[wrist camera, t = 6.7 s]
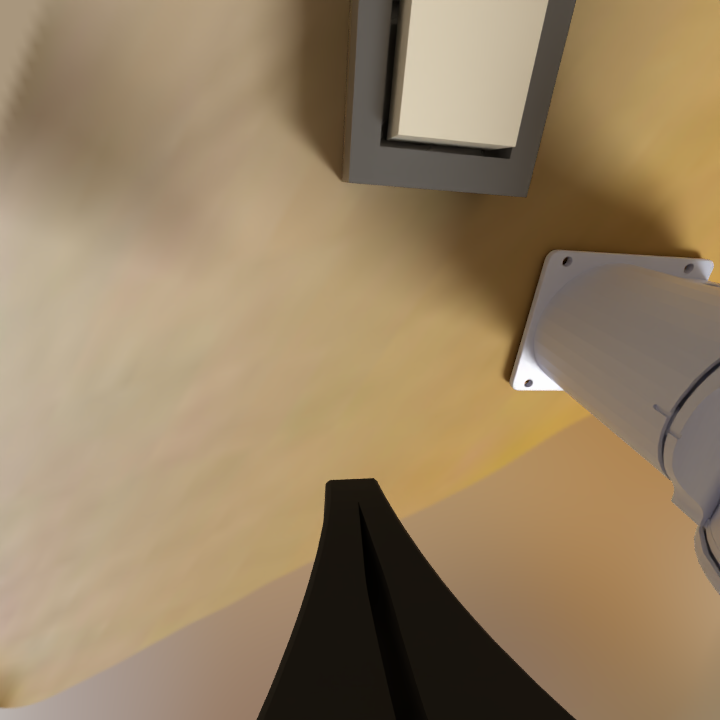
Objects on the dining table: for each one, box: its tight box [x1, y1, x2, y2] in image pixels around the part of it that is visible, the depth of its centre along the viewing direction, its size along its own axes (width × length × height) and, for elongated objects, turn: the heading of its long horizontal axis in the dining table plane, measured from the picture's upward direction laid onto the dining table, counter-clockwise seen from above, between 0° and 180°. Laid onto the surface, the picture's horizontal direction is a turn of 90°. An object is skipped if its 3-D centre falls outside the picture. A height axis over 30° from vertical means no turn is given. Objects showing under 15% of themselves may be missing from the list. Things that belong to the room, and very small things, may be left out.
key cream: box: [387, 0, 549, 150], centre depth 12 cm, size 4×4×2 cm
